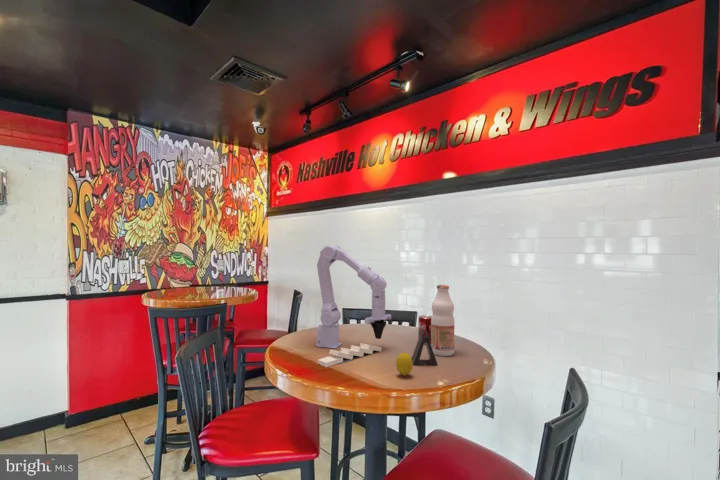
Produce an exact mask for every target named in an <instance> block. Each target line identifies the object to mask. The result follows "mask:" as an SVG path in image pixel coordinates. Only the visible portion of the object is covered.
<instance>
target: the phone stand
mask: <svg viewBox="0 0 720 480" xmlns="http://www.w3.org/2000/svg"><path fill="white" fill-rule="evenodd" d="M424 331H425V332H426V335H425V337H424V336H423V335H424V334H425V333H424V332H423V330H422V329H421V330H420V331H419V339H417V342H416V345H415V347H414V351H413V353H412V355H411V356H412V357H411V358H412V363H413V366H420V367H421V366H425V367H426V366H427V367H428V366H431V367H434V366H435V367H436V366H438V365H439V364H438V362H437V359H436V356H435V354H434V353H433V350H432V347H431V344H430V335H429V334H428V333H427V331H426V330H425V329H424ZM424 343H426V345H424ZM424 346H426V349H427V350H426V351H427V353H428V358H429V359H421V355H422V352H423V348H424Z"/></svg>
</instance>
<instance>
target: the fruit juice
mask: <svg viewBox="0 0 720 480" xmlns="http://www.w3.org/2000/svg"><path fill="white" fill-rule="evenodd" d="M436 289H437V292H436V293H435V294H436V295H435V297H434V300H433V302H431V303H432V304H431V311H432V315H431V316H432V318H431V347H432V350H433V353H434V355H436V356H438V357H439V356H440V357H451V356H453V355H454V354H455V316H454V311H455V305H454V302H453V301H452V299H451V296H450V292H449V290H450V285H449V284H448V285H447V284H438V285H436Z"/></svg>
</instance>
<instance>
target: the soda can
mask: <svg viewBox="0 0 720 480" xmlns="http://www.w3.org/2000/svg"><path fill="white" fill-rule="evenodd" d="M431 318H432V315H427V314H425V315H422V314H421V315H419V316H418V321H417V322H418V324H417V325H418V326H417V327H418V335H417V336H418V337H417V338H418V339H419V331H420V330H421V329H422V330H423V332H424V333H425V334H424V335H423V336H424V337H425V335H426V332H425V331H424V329H425V330H426V331H427V333H428V334H429V335H430V344H431ZM418 339H417V340H418ZM423 346H426V343H424V345H423Z"/></svg>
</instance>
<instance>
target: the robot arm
mask: <svg viewBox="0 0 720 480" xmlns="http://www.w3.org/2000/svg"><path fill="white" fill-rule="evenodd" d="M336 261H339V262H343V263H345V264H346V265H348V266H349V267H350V268H352V270H354V271H355V272H356V273H357V277H358V278H360V280H362V281H363V282H364V283H365V284H367V285H368V286H369V287H370V289H371V316H369V317H366V318H364V324H367V325H368V324H370V326H371V328H372V330H373V333H374V337H375V339H378V340H380V339H382V336H383V331H384V329H385V327H386V325H387V320H392V314H389V313H387V314H386V288H387V285H388V283H387V281H386V279H385V278H384V277H382V276H381V275H380V274H379V273H378V274H377V273H376V272H374V271H373V270H372V267H370V266H367V265H364V266H363V265H362V264H360V263H359V262H358V261H357V260H356V259H355V258H354V257H352V256H351V255H350V254H349V253H348V252H347V251H346V250H344V249H343V248H341V247H340V246H339V245H331V244H330V245H329V244H328V245H325V246H323V248H322V249H321V250H320V251H319V257H318V259H317V262H316V269H317V275H318V280H319V287H320V294H321V300H322V301H321V302H322V307H321V310H320V312H321V316H320V323H321V324H318V325H317V328H316V337H315V339H316V344H315V347H318V348H327V349H337V348H338V347H340V346H341V345H342V344H343V343H342V342H339V340H340V339H339V338H340V337H339V336H340V323H339V321H340V319H341V317H342V316H341V315H342V314H341V312H340V310H339V308H338V305H337V303H336V301H335V296H334V288H333V283H332V282H333V281H332V275H331V270H330V267H331V266H332V265H333V263H335V262H336Z"/></svg>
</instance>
